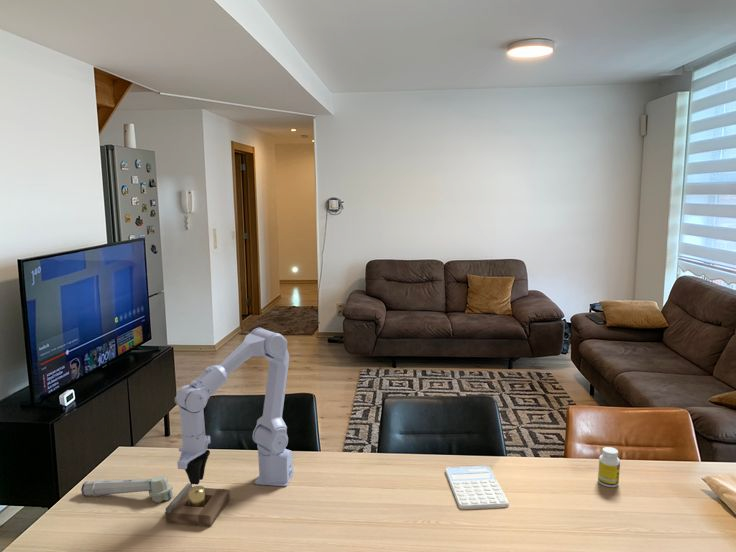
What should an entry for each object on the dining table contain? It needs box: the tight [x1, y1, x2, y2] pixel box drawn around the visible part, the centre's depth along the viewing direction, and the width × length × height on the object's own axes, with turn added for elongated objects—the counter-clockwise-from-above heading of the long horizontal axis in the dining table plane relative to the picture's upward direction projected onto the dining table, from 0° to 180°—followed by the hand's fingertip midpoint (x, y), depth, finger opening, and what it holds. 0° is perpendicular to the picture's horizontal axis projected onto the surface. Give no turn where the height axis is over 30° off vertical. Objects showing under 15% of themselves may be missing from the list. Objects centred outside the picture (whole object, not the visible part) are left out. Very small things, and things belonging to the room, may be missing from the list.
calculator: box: [445, 465, 510, 510], centre depth 153 cm, size 13×20×2 cm, turn 3°
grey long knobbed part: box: [80, 475, 174, 503], centre depth 151 cm, size 5×7×25 cm
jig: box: [164, 482, 231, 527], centre depth 144 cm, size 12×12×4 cm
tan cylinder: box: [188, 485, 206, 507], centre depth 144 cm, size 4×4×6 cm
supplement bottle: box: [597, 446, 621, 488], centre depth 154 cm, size 5×5×10 cm
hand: (196, 481), depth 143 cm, fingers closed
